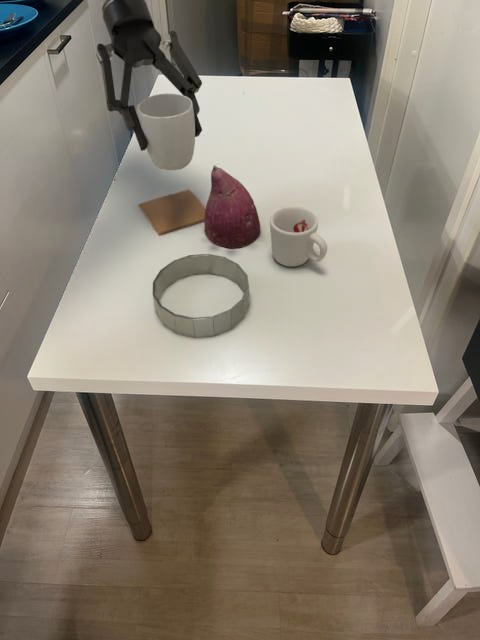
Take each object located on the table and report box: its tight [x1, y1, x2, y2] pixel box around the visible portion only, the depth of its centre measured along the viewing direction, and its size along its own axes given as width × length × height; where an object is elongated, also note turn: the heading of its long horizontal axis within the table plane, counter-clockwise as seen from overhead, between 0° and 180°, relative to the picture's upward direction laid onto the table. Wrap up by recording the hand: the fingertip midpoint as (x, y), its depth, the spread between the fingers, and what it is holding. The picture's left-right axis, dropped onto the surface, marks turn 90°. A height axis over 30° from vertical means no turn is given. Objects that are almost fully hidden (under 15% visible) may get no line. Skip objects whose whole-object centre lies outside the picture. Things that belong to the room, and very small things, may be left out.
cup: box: [269, 205, 328, 267], centre depth 84 cm, size 11×8×8 cm
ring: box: [152, 253, 250, 339], centre depth 78 cm, size 15×15×4 cm
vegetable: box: [203, 164, 261, 249], centre depth 88 cm, size 10×10×15 cm
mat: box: [138, 188, 206, 236], centre depth 97 cm, size 11×11×1 cm
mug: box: [137, 93, 196, 171], centre depth 85 cm, size 13×9×10 cm
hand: (171, 140), depth 83 cm, fingers closed on mug, 9 cm apart
